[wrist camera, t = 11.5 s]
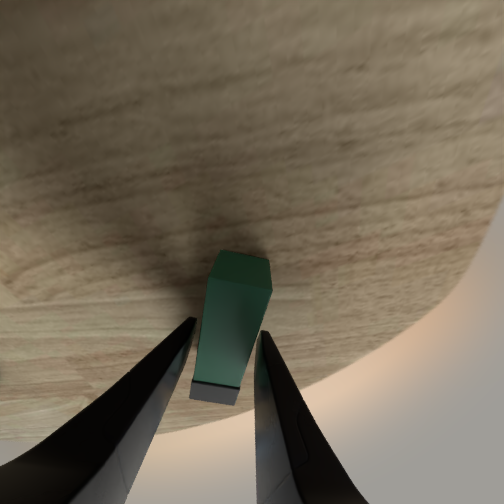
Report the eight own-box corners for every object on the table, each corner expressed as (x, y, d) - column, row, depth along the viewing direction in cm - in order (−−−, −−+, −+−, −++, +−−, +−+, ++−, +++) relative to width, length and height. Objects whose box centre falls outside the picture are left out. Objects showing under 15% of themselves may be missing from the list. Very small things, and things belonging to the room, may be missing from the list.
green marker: (219, 248, 9) (205, 278, 6) (270, 259, 9) (274, 292, 7) (201, 355, 12) (188, 399, 10) (238, 361, 12) (234, 406, 10)
